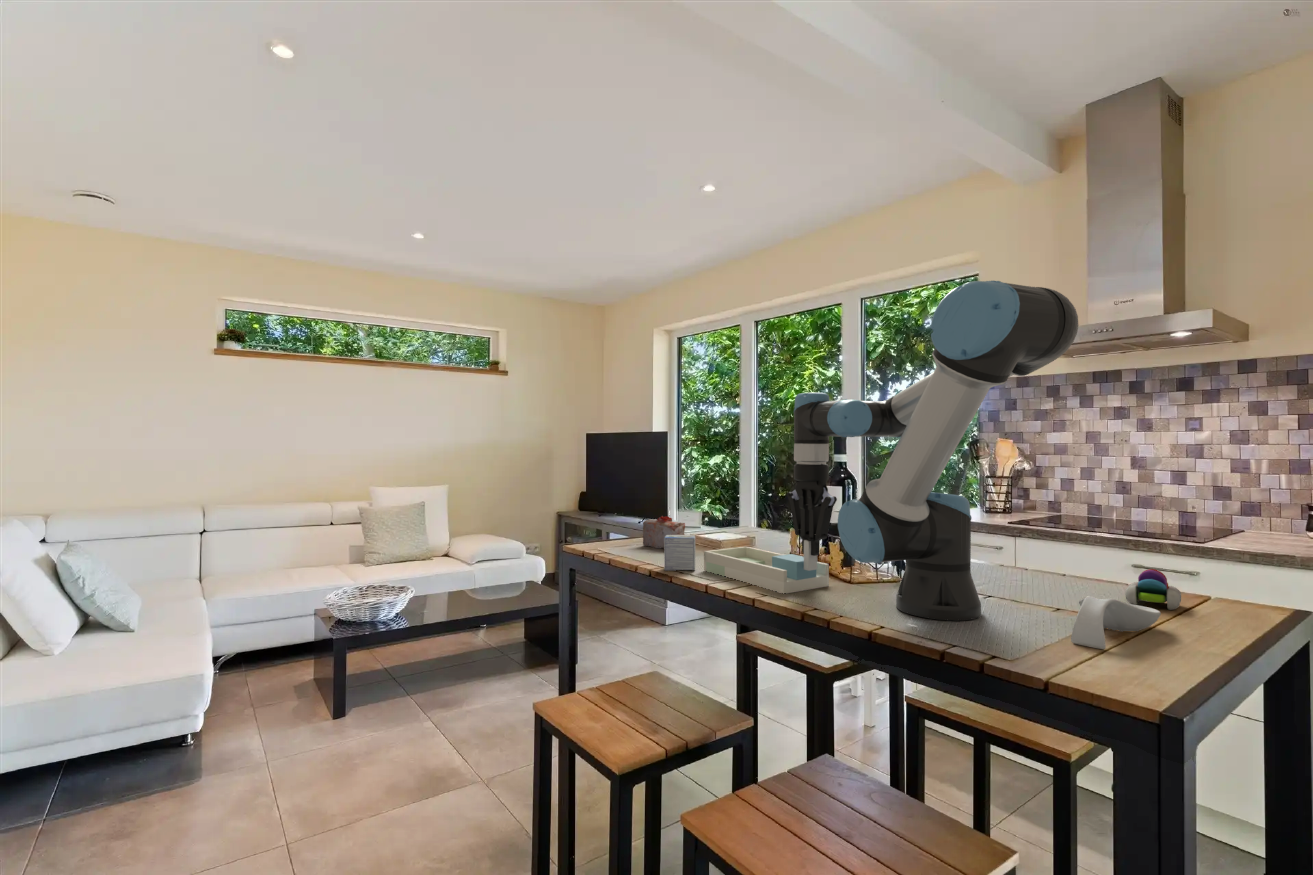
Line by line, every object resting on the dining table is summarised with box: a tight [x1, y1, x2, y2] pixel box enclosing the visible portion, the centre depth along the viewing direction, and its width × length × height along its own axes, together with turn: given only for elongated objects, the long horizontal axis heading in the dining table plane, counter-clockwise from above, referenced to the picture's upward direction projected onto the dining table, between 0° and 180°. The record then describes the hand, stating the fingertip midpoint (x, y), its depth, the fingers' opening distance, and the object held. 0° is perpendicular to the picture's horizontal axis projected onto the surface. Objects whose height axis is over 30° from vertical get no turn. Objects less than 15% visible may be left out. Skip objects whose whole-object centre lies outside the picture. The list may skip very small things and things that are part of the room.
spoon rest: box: [1070, 595, 1161, 650], centre depth 109 cm, size 24×12×7 cm, turn 131°
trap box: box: [703, 546, 830, 595], centre depth 152 cm, size 29×14×5 cm, turn 32°
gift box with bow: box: [642, 515, 686, 549], centre depth 198 cm, size 14×8×10 cm, turn 52°
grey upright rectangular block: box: [663, 534, 696, 572], centre depth 163 cm, size 8×4×9 cm, turn 84°
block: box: [772, 553, 816, 580], centre depth 144 cm, size 8×6×4 cm
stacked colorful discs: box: [1125, 568, 1182, 611], centre depth 127 cm, size 8×10×7 cm
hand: (810, 569), depth 139 cm, fingers closed
